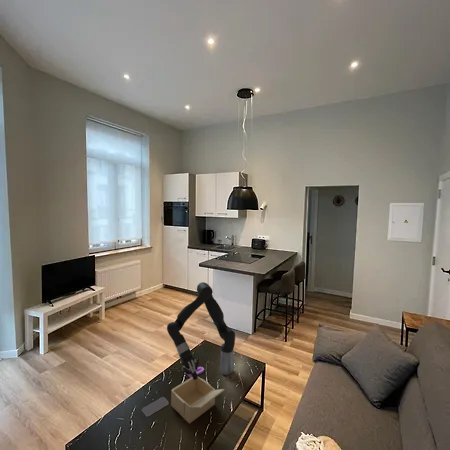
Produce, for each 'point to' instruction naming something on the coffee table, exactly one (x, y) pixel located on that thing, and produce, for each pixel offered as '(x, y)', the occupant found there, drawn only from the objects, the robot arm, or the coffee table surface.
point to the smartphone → (155, 406)
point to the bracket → (198, 371)
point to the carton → (191, 398)
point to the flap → (207, 398)
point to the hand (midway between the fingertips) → (196, 379)
